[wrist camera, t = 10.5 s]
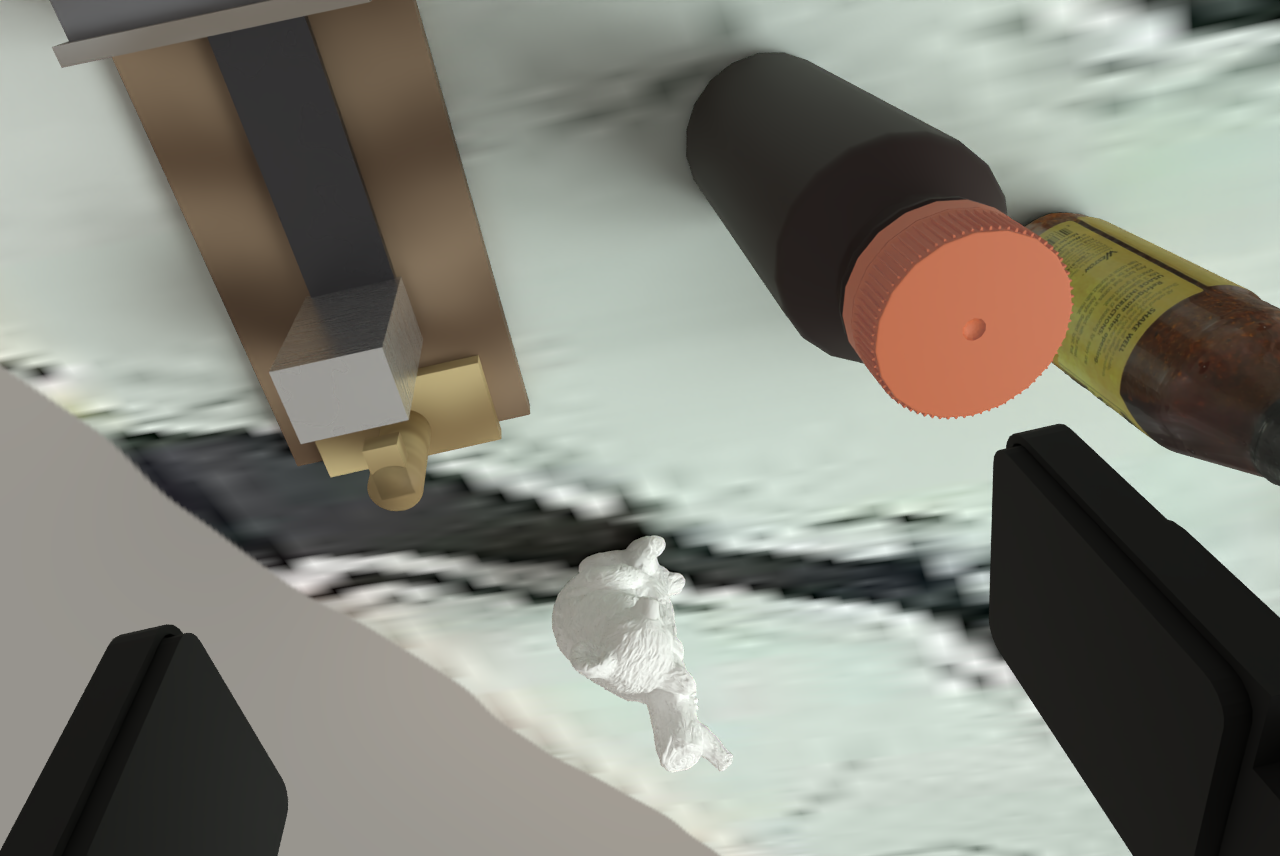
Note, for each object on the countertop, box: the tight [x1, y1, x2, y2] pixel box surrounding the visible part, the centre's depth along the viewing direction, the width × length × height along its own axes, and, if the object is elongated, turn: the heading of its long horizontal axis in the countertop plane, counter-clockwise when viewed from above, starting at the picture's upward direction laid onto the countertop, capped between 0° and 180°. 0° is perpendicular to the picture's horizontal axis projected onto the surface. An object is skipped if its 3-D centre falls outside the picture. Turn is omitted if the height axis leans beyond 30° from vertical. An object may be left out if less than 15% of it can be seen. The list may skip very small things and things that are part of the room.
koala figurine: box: [552, 535, 733, 772], centre depth 44 cm, size 8×7×12 cm
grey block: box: [207, 15, 423, 444], centre depth 33 cm, size 14×4×7 cm, turn 10°
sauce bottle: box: [1025, 213, 1280, 486], centre depth 35 cm, size 6×6×20 cm
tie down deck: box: [50, 0, 530, 511], centre depth 33 cm, size 28×11×7 cm, turn 10°
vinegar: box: [686, 53, 1074, 419], centre depth 30 cm, size 7×7×20 cm
